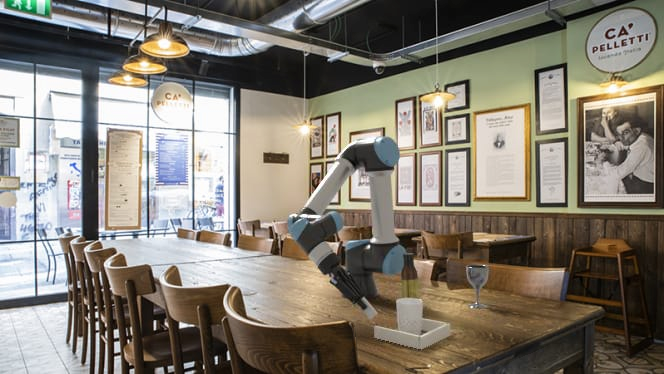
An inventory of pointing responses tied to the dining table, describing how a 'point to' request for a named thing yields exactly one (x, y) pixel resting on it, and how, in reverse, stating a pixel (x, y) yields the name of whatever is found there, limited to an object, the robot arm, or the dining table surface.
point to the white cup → (409, 315)
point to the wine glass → (477, 281)
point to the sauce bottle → (409, 277)
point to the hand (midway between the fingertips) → (374, 316)
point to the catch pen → (433, 335)
